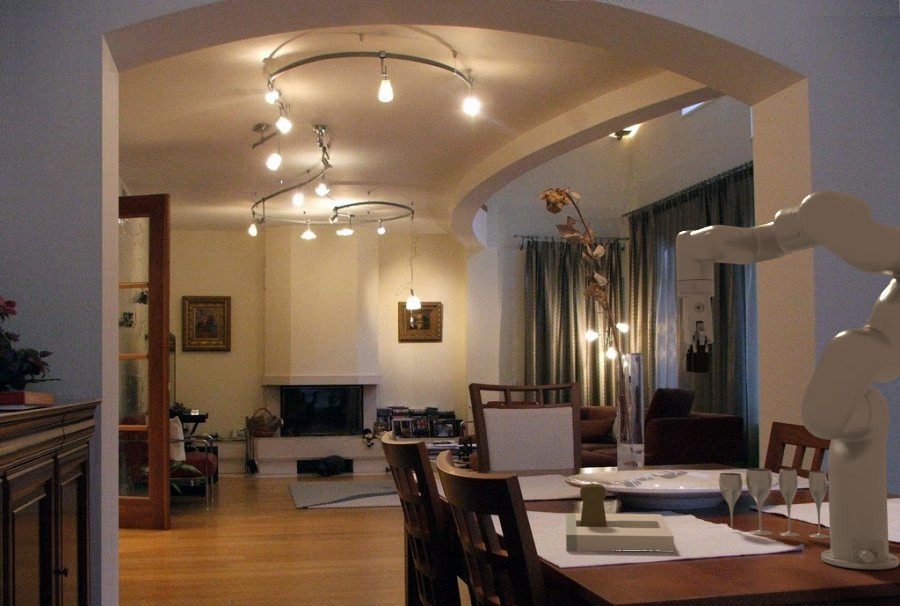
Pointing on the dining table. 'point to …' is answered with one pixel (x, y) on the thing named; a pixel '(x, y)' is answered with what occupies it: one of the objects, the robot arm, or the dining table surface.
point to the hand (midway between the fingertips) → (697, 372)
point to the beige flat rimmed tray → (620, 533)
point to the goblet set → (761, 487)
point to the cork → (593, 506)
